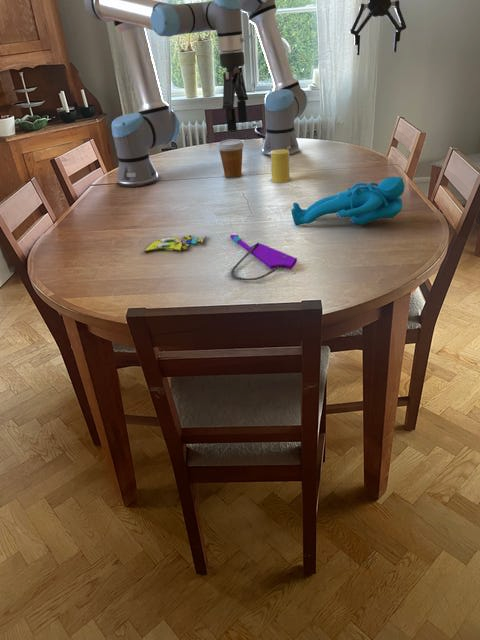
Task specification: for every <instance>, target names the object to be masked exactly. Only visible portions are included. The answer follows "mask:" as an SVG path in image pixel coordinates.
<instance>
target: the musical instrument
mask: <svg viewBox="0 0 480 640" xmlns="http://www.w3.org/2000/svg"><path fill="white" fill-rule="evenodd" d="M229 237H230V239H231V240H233V242H234V243H236V244H237V245H239V246H240V247H242V248H243V249H244V250H246V251H247V252H246V253H245V255H243V257H241V259H240V260H238V261H237V262H236V264H235V265H234V266H233V267H232V269H231V271H230V276H231V277H232V278H233V279H234V280H240V281H256V280H257V281H258V280H260V279H263V278H265V277H267V276H269V275H270V274H273V273H274V272H276V271H278V270H279V269H287V270H293V268H294V267H295V265H296V264H297V263H298V259H297V257H295V256H292V255H290V254H287V253H285V252H283V251H280V250H277V249H275V248H272V247H270V246H268V245H265V244H263V243H260V242H256V243H255V244H253V245H251V246H250V245H248V244H247V243H246V242H245V241H243V240H242V238H240V236H239V235H238V234H230V235H229ZM250 254H251V256H254V257H255V258H256V259H257V260H259V261H260V262H261V263H262V264H264V266H266V267H268V268H269V269H270V271H268V272H267V273H264V274H263V275H259V276H257V277H251V278H247V277H246V278H245V277H240V276H236V274H235V270H236V269H237V268H238V267H239V265H240V264H241V263H242V262H243V261H244V260H245V259H246V258H247V257H248V256H249V255H250Z"/></svg>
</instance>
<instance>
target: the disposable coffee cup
mask: <svg viewBox="0 0 480 640" xmlns="http://www.w3.org/2000/svg"><path fill="white" fill-rule="evenodd" d="M217 145H218V146H217V148H218V150H219V156H220V159H221V164H222V169H223V173H224V176H225V177H226V178H238V177H240V176H242V171H243V170H242V169H243V148H244V146H245V145H244V143H243V140H241V139H237V138H232V139H224V140H221V141H219V142H218V144H217Z"/></svg>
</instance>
